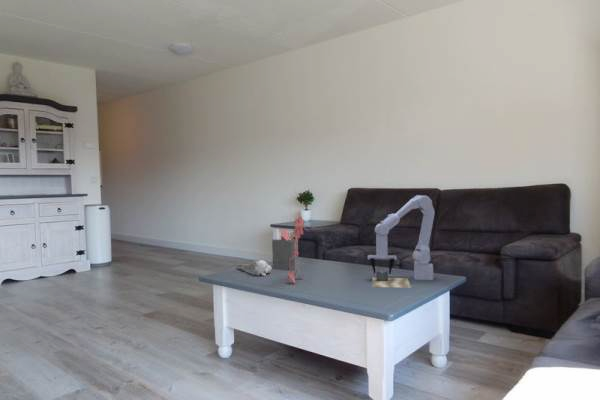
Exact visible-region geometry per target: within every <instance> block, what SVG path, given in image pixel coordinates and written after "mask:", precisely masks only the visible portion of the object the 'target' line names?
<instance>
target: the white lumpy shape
mask: <svg viewBox="0 0 600 400" xmlns="http://www.w3.org/2000/svg"><path fill="white" fill-rule="evenodd" d="M257 261H258V265H259V266H256V265H255V270H257V271H258V273H257V274H256V275H257V276H260V275H261V276H263V277H266V276H267V274H271V272H272V269H273V267H272V266H271V265H269V264H268V263H267V262H266V260H261V259H260V260H257Z"/></svg>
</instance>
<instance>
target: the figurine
mask: <svg viewBox="0 0 600 400" xmlns="http://www.w3.org/2000/svg"><path fill="white" fill-rule="evenodd" d="M294 222H295V226H294V230H293V232H292V234H291V235H290V236H289V233H288V232H287V231H286V230H284V229H283V228H281V230H280V235H281V236H282V237H283V238H284V239H285V241H288V240H290V238H291V240H292V239H293V240H292V241H295V251H294V253H293V254H294V256H295V264H298V258H297V256H299V252H298V242H297V240H299V239H301V236H302V235H304V231H303V229H305V230H306V232H308V233H310V231H309V230H308V229H307V228H306V227H305V226H304V223H305V220H304V219H302V215H298V217H296V218H295V220H294ZM295 238H296V239H297V240H296V239H295ZM294 256H293V257H294ZM293 257H292V258H293ZM292 258H291V259H292ZM291 259H290V260H291ZM290 260H289V263H290ZM297 272H298V274H299V276H300V278H301V279H302V280H303V276H302V274H300V272H299V267H298V265H296V268H295V272H294V274H293V272H292V271H291V267H290V270H288V276H287V278H286V280H285V283H287V282H288V280H289V279H290V281H291V282H292V283H293V284H294V285H295V284H296V278H295V276H296V274H297ZM312 279H314V280H315V278H313V277H312ZM279 285H281V286H282V285H283V284H282V283H280V284H279Z"/></svg>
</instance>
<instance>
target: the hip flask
mask: <svg viewBox="0 0 600 400" xmlns="http://www.w3.org/2000/svg"><path fill="white" fill-rule="evenodd" d="M280 238H281V239H278V238H277V239H275V238H274V239H272V240H271V242H272V243H271V244H272V246H271V247H272V249H271V250H272V252H271V253H272V269H274V268H278V269H277V270H285V269H286V271H290V267H291V272H292V271H296V256H294V254H293V253H294V251H296V242H295V241H294V240H292V239H288V241H285V239H284V238H283V237H282V235H281V236H280ZM293 256H294V257H293ZM292 257H293V258H292ZM291 258H292V259H291ZM290 259H291V260H290ZM289 260H290V263H289Z"/></svg>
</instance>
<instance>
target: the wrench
mask: <svg viewBox="0 0 600 400" xmlns="http://www.w3.org/2000/svg"><path fill="white" fill-rule="evenodd" d="M258 261H259V260H253V261H252V262H251V263H250V264H248V263H247V264H246V263H236V265H235V268H236V269H237V270H250V272H251V274H252V275H253V276H255V274H256V275H257V273H258V271H257V270H255V265H256V266H259V265H258Z"/></svg>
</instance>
